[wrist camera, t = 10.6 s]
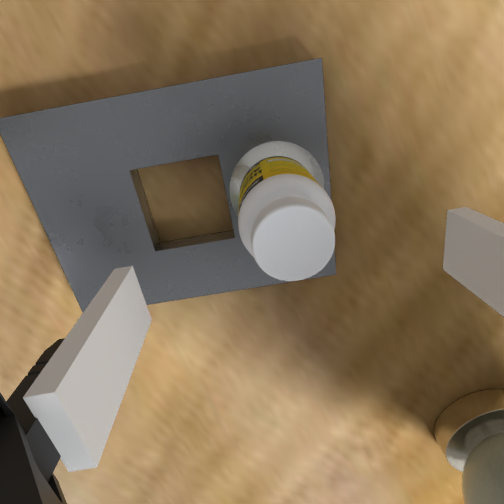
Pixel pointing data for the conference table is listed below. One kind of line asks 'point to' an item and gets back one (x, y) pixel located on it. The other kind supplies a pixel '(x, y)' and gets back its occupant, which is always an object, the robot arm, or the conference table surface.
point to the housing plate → (157, 153)
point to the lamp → (475, 444)
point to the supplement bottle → (286, 219)
